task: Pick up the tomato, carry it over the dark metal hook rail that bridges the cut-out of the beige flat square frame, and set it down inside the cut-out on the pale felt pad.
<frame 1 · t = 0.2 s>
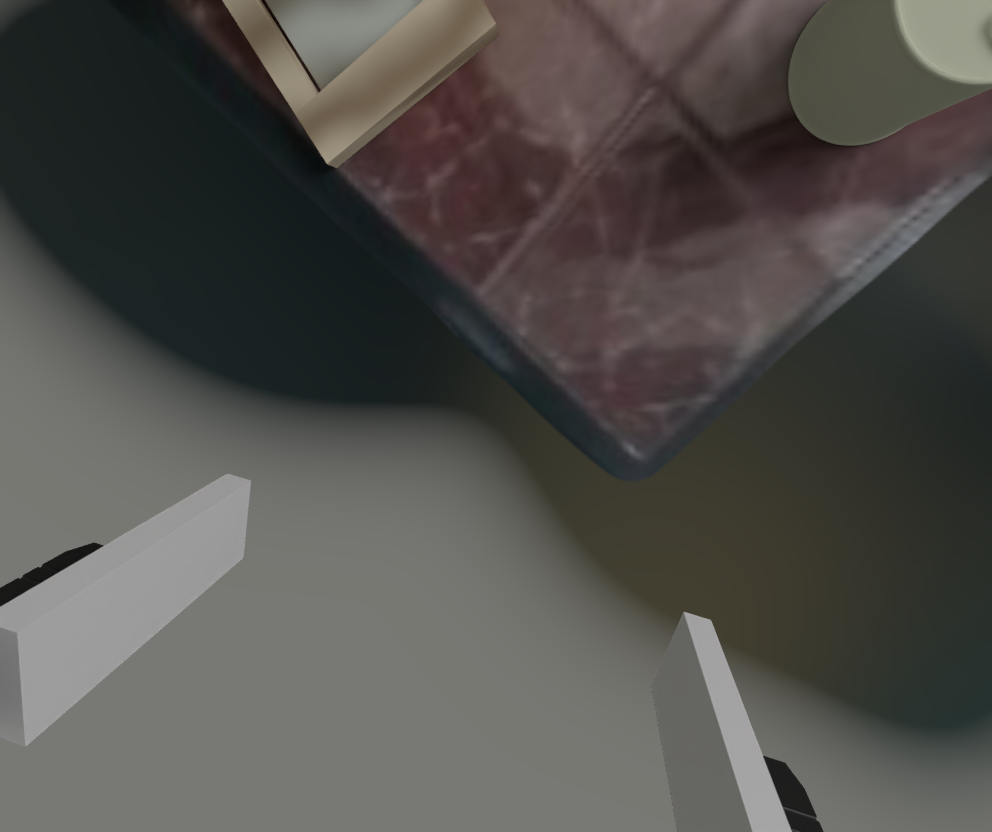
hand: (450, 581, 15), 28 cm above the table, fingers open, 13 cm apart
can: (863, 67, 32), on the table
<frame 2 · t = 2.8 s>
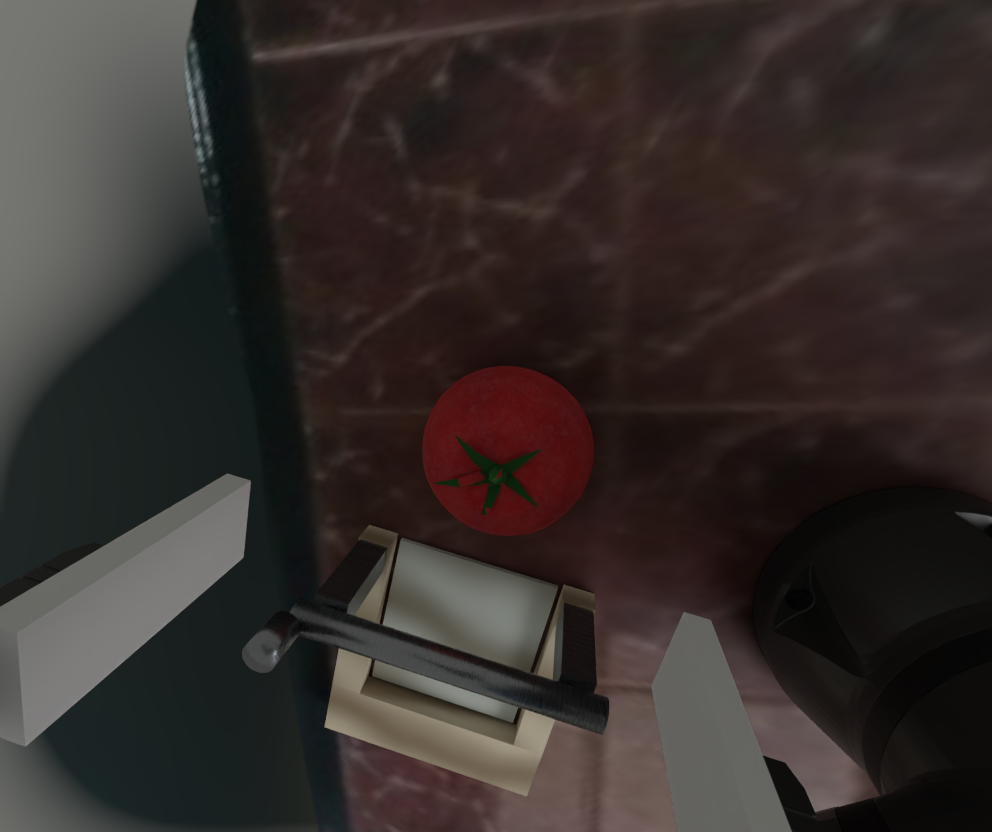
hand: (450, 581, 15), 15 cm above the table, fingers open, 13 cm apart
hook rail: (446, 637, 26), on the beige flat square frame, point 6 cm above the table
tomato: (515, 428, 30), on the table
beige flat square frame: (453, 656, 34), on the table
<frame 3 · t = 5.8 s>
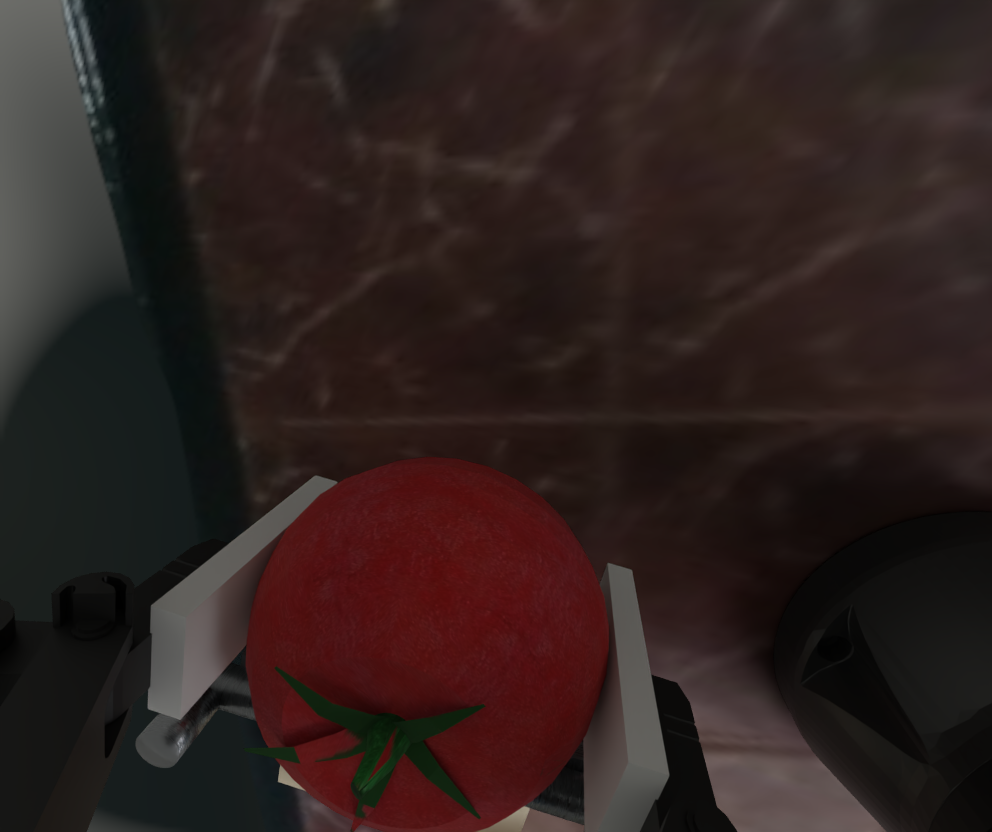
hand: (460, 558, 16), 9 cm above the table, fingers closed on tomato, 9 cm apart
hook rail: (405, 702, 22), on the beige flat square frame, point 6 cm above the table
tomato: (464, 547, 16), point 8 cm above the table, touching gripper
beige flat square frame: (424, 701, 30), on the table
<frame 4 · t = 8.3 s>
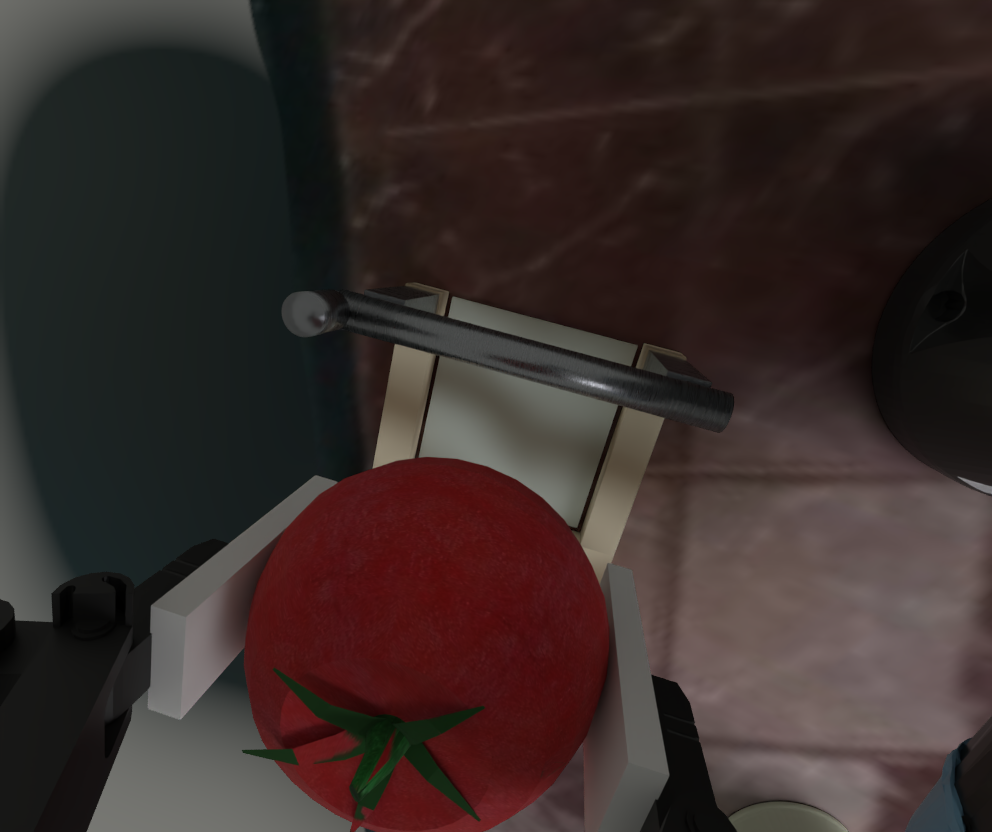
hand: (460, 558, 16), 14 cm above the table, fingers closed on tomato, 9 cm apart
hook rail: (521, 350, 22), on the beige flat square frame, point 6 cm above the table
tomato: (464, 547, 16), point 14 cm above the table, touching gripper
beige flat square frame: (509, 448, 30), on the table
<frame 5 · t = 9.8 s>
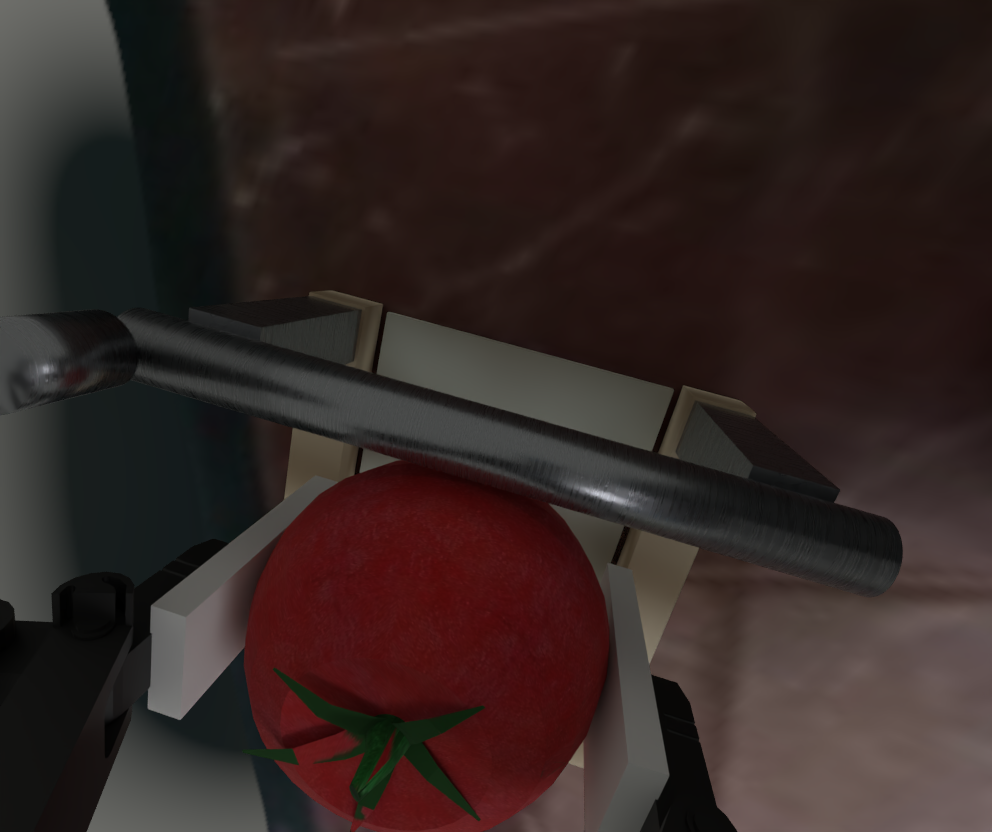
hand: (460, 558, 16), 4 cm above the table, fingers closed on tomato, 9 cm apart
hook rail: (478, 415, 12), on the beige flat square frame, point 6 cm above the table
tomato: (464, 547, 16), point 4 cm above the table, touching gripper
beige flat square frame: (478, 535, 20), on the table
when the fingers open (2 cm above the table, at t = 10.9 s): tomato drops 1 cm, resting on beige flat square frame.
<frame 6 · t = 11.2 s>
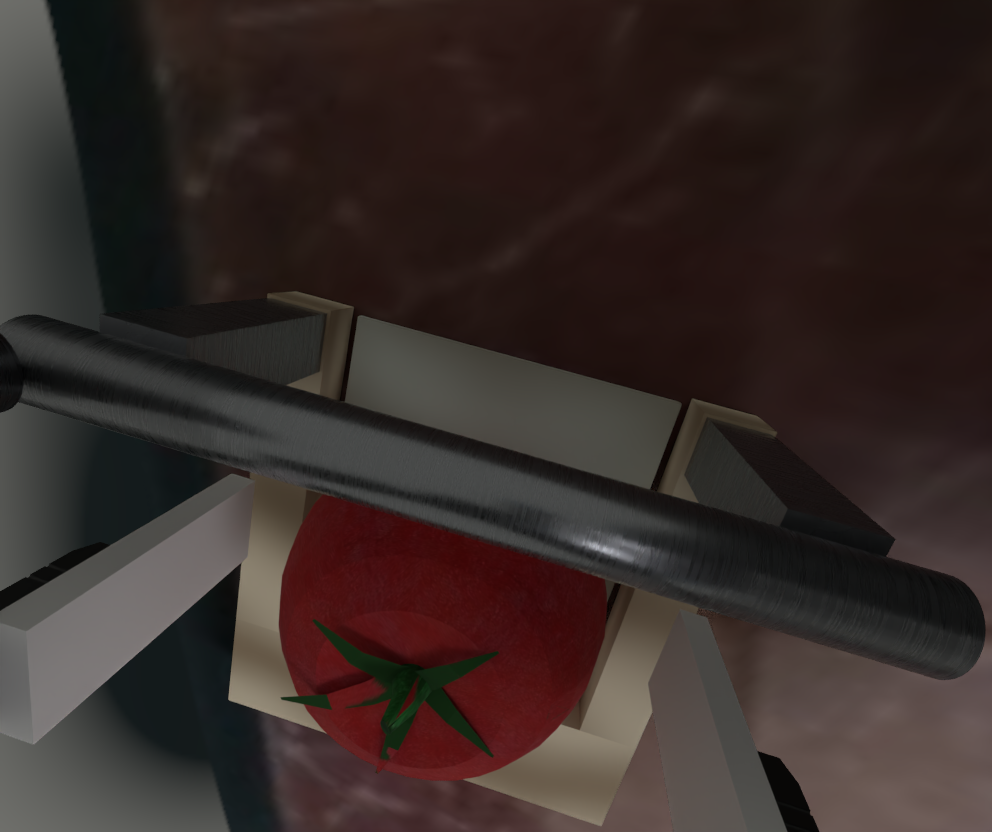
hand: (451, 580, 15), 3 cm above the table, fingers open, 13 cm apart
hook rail: (453, 442, 10), on the beige flat square frame, point 6 cm above the table
tomato: (471, 527, 18), resting on beige flat square frame
beige flat square frame: (463, 563, 18), on the table
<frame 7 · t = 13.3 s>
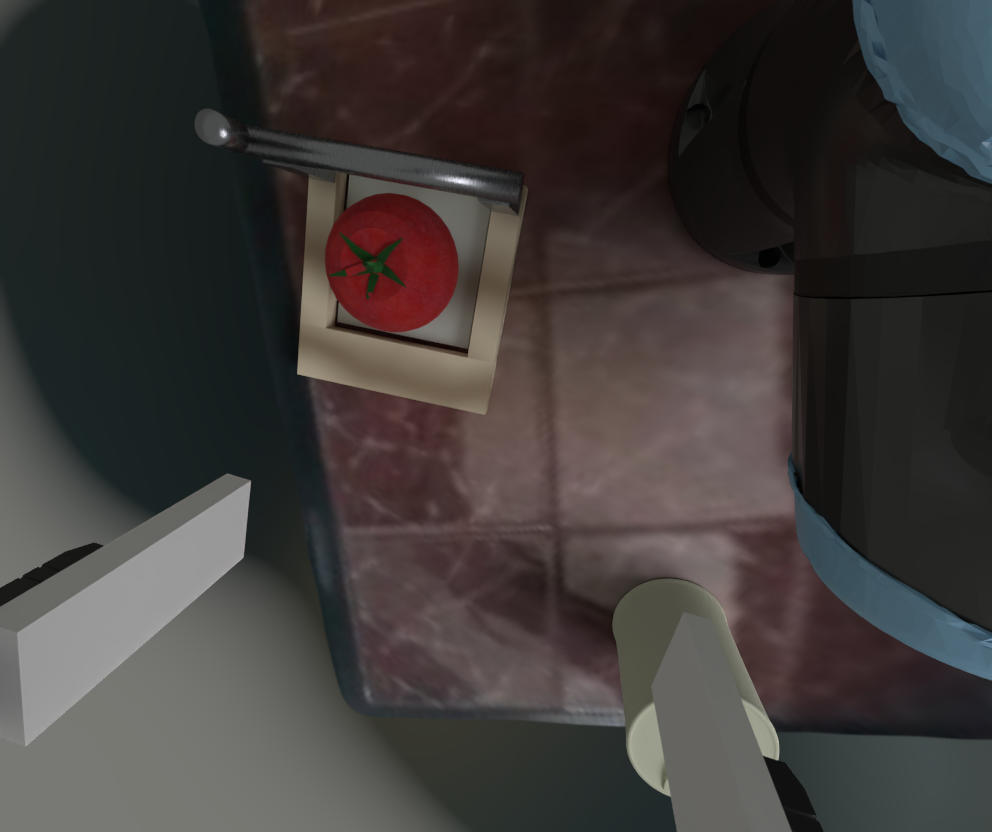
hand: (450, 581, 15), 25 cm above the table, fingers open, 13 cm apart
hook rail: (383, 168, 30), on the beige flat square frame, point 6 cm above the table
tomato: (410, 265, 37), resting on beige flat square frame
can: (667, 623, 43), on the table
beige flat square frame: (408, 287, 38), on the table
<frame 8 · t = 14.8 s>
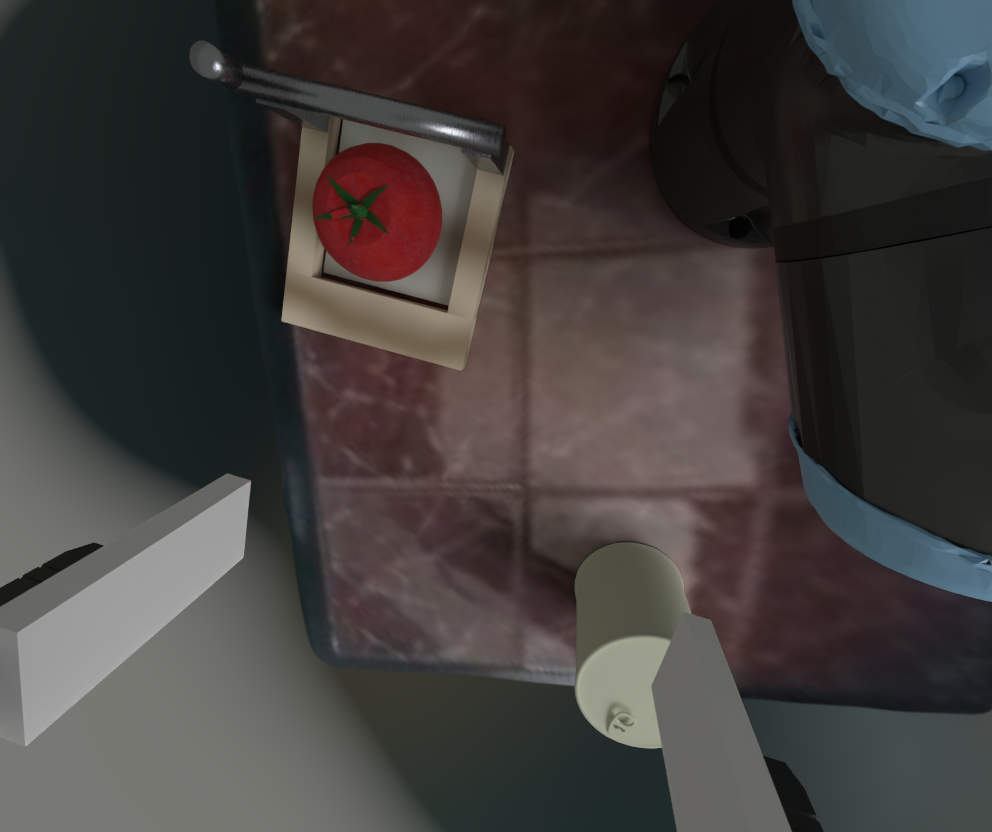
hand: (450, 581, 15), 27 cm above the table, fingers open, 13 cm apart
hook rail: (372, 116, 30), on the beige flat square frame, point 6 cm above the table
tomato: (397, 220, 38), resting on beige flat square frame
can: (627, 587, 44), on the table
beige flat square frame: (394, 241, 39), on the table
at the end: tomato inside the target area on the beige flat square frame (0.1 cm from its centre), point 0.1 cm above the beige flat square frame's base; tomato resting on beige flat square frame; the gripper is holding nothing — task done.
